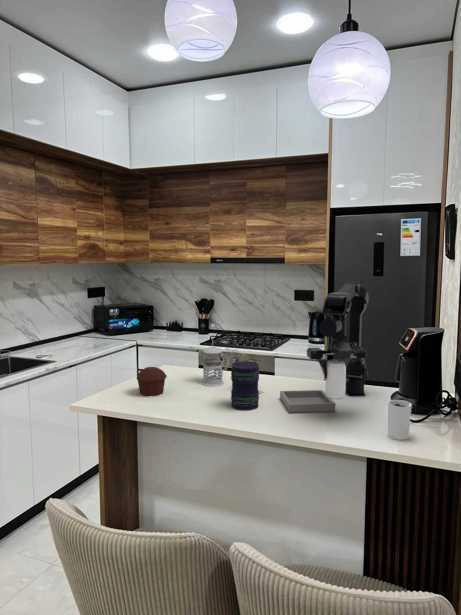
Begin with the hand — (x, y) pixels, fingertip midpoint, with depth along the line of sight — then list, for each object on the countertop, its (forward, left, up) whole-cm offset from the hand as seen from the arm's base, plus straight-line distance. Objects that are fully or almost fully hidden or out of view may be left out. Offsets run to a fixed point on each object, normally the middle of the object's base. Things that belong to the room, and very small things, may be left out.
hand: (335, 378), depth 154 cm
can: (0, 0, -7) cm, 7 cm away
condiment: (+25, -28, -13) cm, 40 cm away
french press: (+38, -41, -13) cm, 57 cm away
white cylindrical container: (-13, +20, -13) cm, 27 cm away
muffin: (+63, -29, -13) cm, 71 cm away
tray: (+7, -10, -13) cm, 18 cm away
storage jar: (+29, -11, -13) cm, 34 cm away
